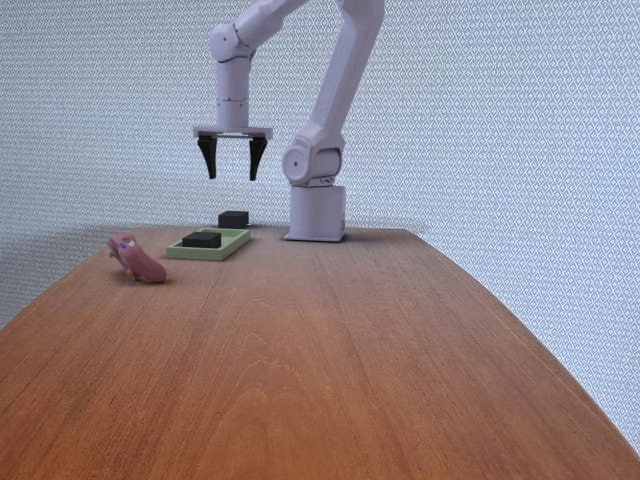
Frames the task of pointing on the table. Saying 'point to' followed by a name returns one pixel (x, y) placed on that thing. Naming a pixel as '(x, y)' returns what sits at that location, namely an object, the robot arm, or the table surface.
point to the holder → (229, 241)
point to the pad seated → (202, 240)
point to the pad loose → (233, 219)
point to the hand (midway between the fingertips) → (232, 179)
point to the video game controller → (134, 258)
